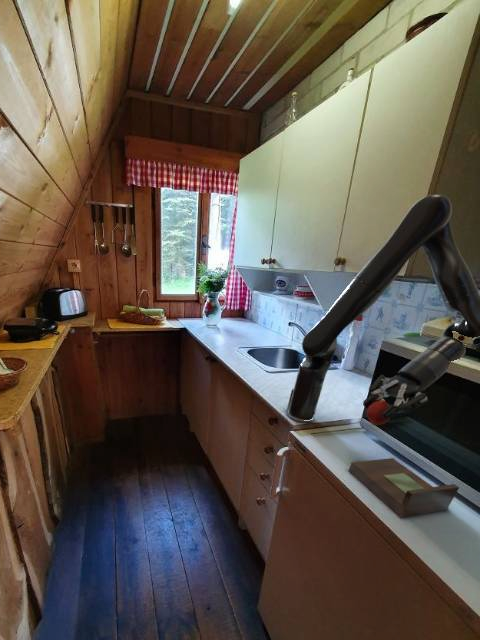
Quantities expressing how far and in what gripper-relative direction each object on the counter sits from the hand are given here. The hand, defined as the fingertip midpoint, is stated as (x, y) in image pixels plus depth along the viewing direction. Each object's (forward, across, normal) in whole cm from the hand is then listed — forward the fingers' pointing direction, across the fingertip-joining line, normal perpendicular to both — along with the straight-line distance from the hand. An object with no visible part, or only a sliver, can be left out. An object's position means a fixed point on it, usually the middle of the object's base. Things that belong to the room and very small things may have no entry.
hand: (373, 411), depth 82 cm
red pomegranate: (+2, 0, +5) cm, 5 cm away
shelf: (+10, +11, +15) cm, 21 cm away
